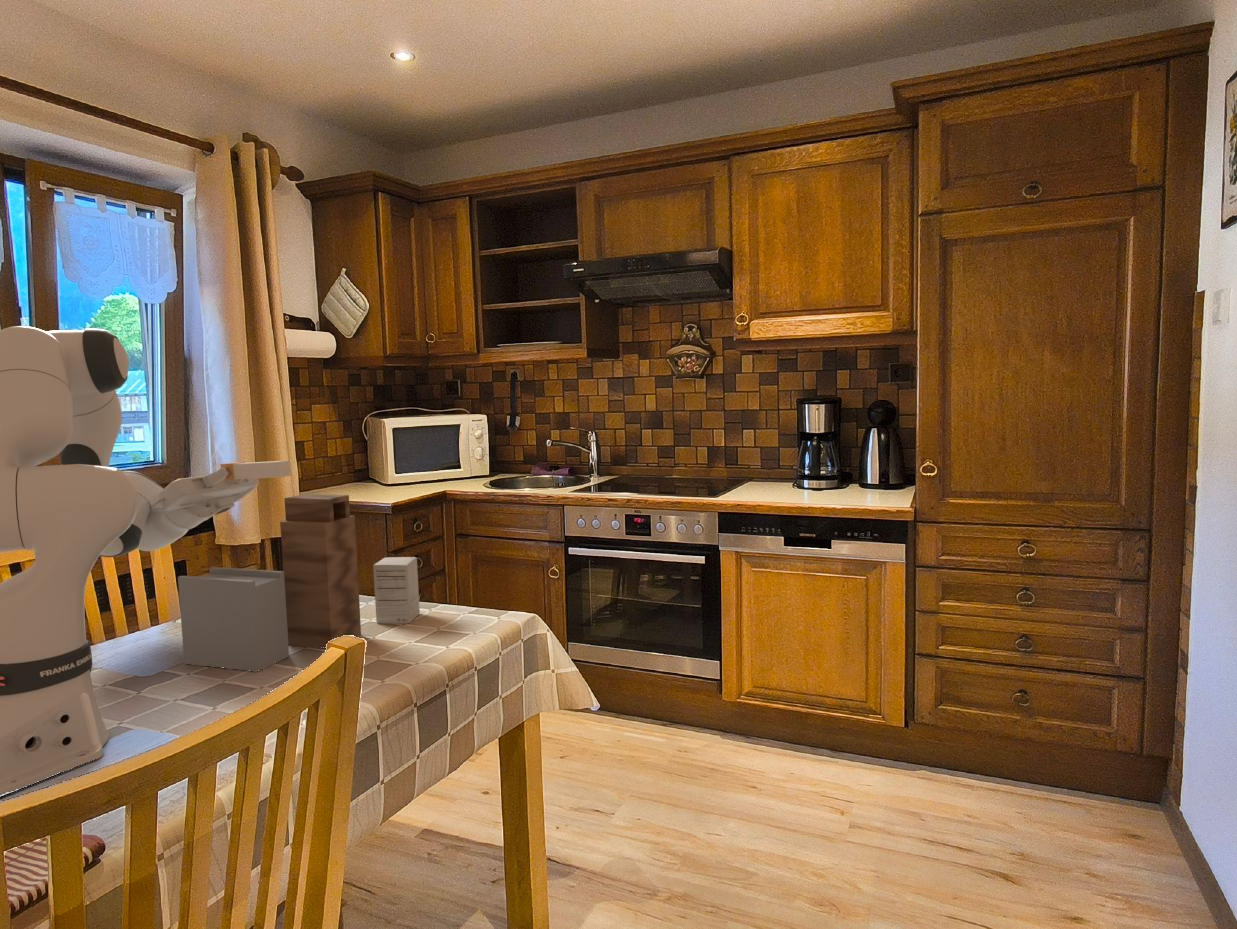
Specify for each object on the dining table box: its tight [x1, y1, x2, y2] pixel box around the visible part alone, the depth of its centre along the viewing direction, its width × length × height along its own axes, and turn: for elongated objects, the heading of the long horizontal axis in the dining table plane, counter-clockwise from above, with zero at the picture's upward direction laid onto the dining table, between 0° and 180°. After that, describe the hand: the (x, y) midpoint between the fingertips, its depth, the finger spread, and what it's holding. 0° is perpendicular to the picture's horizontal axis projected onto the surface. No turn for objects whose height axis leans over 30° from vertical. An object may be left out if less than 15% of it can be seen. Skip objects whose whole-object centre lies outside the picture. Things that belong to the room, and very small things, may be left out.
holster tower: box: [279, 493, 362, 650], centre depth 150 cm, size 9×10×28 cm
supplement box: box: [372, 556, 420, 624], centre depth 164 cm, size 7×7×13 cm
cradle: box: [177, 566, 290, 673], centre depth 139 cm, size 8×16×16 cm, turn 73°
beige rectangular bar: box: [219, 460, 292, 480], centre depth 152 cm, size 3×14×3 cm, turn 73°
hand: (236, 469), depth 153 cm, fingers closed on beige rectangular bar, 3 cm apart
